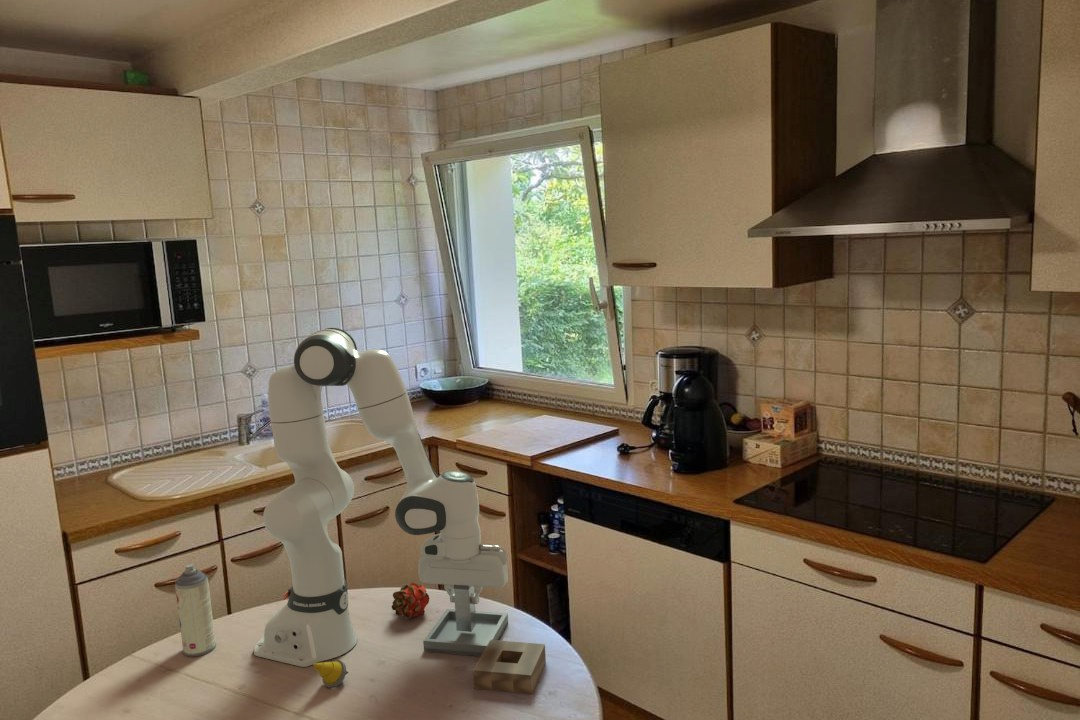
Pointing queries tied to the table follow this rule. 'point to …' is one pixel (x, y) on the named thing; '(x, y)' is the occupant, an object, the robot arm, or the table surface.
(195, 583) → the aerosol can
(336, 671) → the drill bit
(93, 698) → the table surface
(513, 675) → the hitch block
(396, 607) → the dragon fruit
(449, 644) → the tray
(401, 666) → the table surface
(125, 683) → the table surface
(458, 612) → the metal pin
